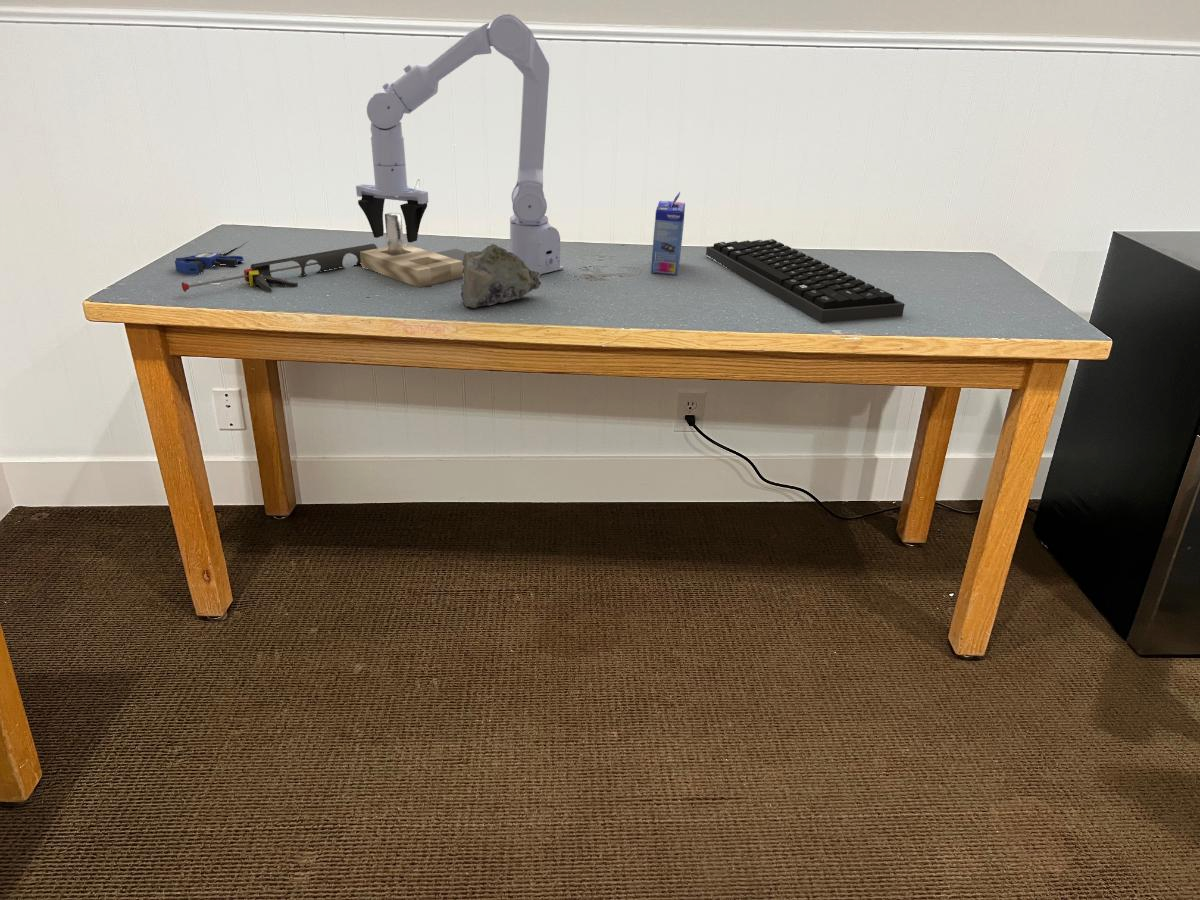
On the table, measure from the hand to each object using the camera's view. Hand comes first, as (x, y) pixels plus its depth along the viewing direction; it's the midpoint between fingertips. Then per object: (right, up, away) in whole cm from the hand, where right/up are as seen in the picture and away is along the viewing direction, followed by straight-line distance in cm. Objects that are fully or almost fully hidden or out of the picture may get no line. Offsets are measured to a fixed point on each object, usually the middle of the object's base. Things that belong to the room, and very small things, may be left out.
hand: (395, 239), depth 163 cm
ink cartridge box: (+52, -4, +8) cm, 52 cm away
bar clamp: (-34, -1, +9) cm, 36 cm away
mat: (+9, -2, +10) cm, 13 cm away
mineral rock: (+22, -15, -15) cm, 30 cm away
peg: (0, -5, +2) cm, 5 cm away
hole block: (+3, -6, 0) cm, 7 cm away
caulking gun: (-17, -9, -6) cm, 20 cm away
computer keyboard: (+75, -9, +1) cm, 76 cm away
